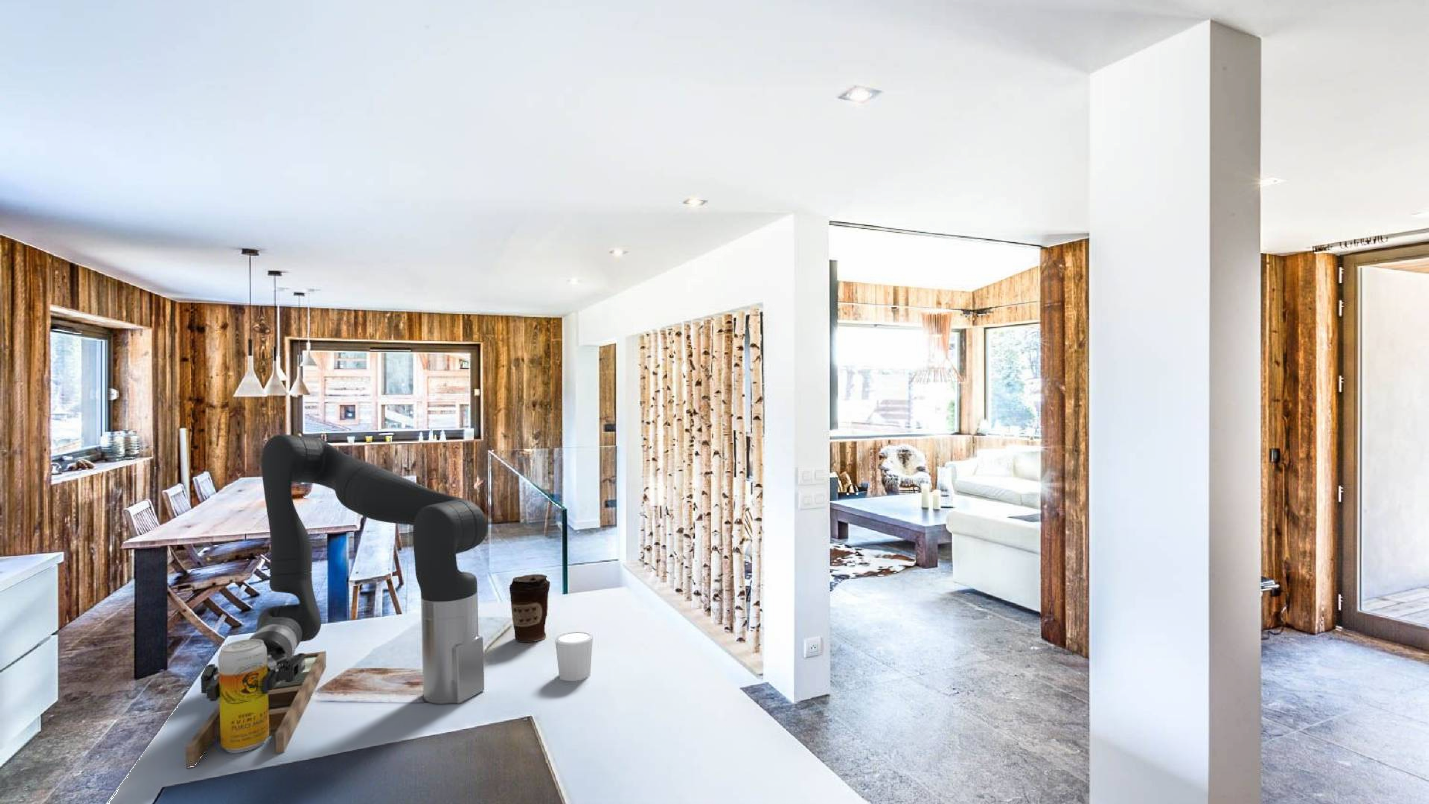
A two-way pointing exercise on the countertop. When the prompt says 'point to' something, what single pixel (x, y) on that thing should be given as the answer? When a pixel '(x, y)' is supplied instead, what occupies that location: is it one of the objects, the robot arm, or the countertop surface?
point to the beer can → (243, 695)
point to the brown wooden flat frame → (270, 709)
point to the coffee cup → (529, 606)
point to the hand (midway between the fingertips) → (239, 690)
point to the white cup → (574, 655)
